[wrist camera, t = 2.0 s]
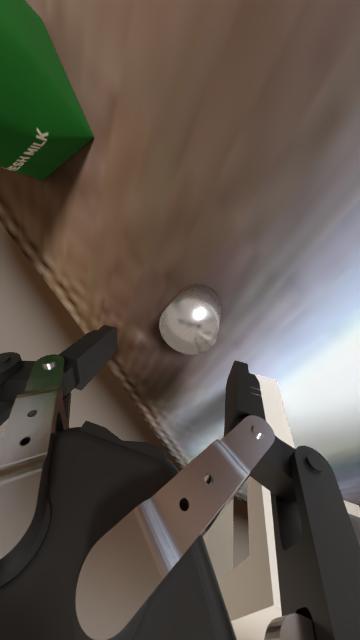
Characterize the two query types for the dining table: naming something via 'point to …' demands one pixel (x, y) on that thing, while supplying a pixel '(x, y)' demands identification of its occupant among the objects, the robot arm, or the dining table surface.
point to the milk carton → (35, 97)
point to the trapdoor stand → (254, 542)
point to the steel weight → (192, 320)
